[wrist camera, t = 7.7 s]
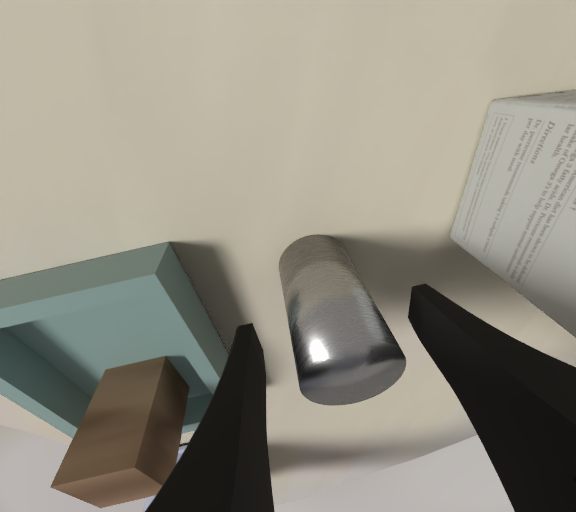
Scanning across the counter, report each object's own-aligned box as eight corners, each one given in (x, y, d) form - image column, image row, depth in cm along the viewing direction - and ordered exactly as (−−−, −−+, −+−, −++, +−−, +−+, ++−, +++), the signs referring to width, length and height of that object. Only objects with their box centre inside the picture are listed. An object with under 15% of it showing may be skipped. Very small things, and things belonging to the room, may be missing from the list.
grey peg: (347, 282, 17) (401, 392, 11) (285, 296, 17) (307, 413, 11) (344, 227, 14) (411, 330, 9) (272, 243, 14) (290, 358, 9)
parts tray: (244, 384, 21) (244, 418, 19) (111, 415, 21) (97, 453, 19) (169, 241, 13) (154, 273, 11) (-46, 290, 13) (-101, 331, 11)
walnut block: (189, 386, 20) (171, 491, 15) (136, 399, 20) (100, 508, 15) (165, 355, 17) (134, 467, 12) (105, 369, 17) (50, 487, 12)
